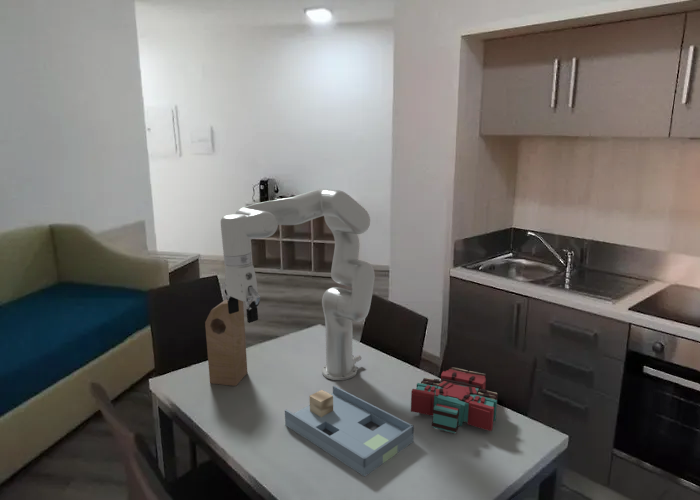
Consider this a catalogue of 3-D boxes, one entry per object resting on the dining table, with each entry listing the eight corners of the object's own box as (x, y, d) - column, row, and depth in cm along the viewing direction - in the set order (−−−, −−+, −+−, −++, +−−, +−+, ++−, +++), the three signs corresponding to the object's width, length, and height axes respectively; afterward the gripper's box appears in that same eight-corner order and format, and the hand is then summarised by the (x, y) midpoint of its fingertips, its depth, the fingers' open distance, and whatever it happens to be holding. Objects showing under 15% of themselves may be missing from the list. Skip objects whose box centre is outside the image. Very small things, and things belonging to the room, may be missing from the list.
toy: (432, 384, 171) (402, 426, 145) (433, 359, 170) (404, 397, 143) (504, 400, 161) (487, 448, 135) (506, 373, 159) (489, 417, 133)
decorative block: (236, 386, 168) (230, 303, 161) (209, 383, 170) (202, 301, 163) (247, 372, 178) (242, 293, 171) (222, 370, 180) (216, 292, 173)
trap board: (334, 399, 160) (334, 385, 158) (413, 441, 138) (413, 425, 137) (285, 425, 146) (284, 410, 145) (364, 476, 124) (364, 459, 123)
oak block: (322, 404, 152) (321, 389, 151) (333, 410, 149) (333, 395, 148) (309, 410, 149) (309, 395, 148) (321, 417, 145) (320, 402, 144)
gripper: (267, 262, 133) (271, 321, 137) (233, 251, 145) (238, 305, 149) (243, 268, 128) (249, 329, 132) (210, 256, 140) (215, 312, 144)
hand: (243, 316), depth 141 cm, fingers open, 9 cm apart
